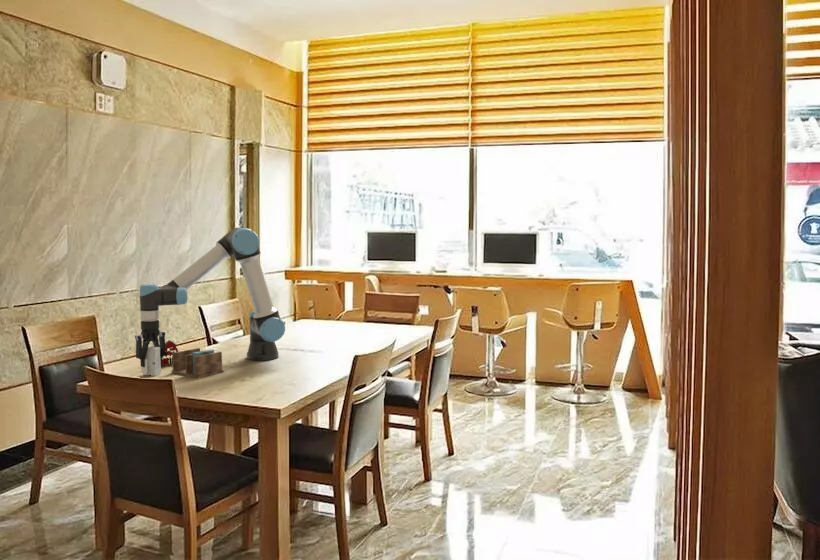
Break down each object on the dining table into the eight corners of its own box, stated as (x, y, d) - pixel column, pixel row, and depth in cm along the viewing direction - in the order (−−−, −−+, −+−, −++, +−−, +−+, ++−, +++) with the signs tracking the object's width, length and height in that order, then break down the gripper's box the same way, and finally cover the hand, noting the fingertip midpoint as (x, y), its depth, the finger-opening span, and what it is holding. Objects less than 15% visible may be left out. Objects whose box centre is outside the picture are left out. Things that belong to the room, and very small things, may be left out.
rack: (197, 367, 324) (197, 345, 323) (223, 372, 313) (223, 349, 312) (171, 372, 312) (170, 350, 311) (197, 378, 302) (196, 355, 301)
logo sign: (150, 367, 325) (149, 343, 324) (149, 365, 328) (148, 341, 327) (191, 363, 333) (190, 339, 332) (189, 361, 336) (189, 338, 335)
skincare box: (142, 375, 307) (141, 348, 306) (148, 373, 312) (147, 345, 310) (155, 376, 306) (154, 348, 305) (161, 373, 311) (160, 346, 309)
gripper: (163, 316, 317) (165, 367, 319) (125, 321, 301) (127, 375, 303) (173, 318, 312) (175, 369, 314) (135, 323, 297) (137, 377, 299)
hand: (151, 372), depth 309 cm, fingers closed on skincare box, 6 cm apart
